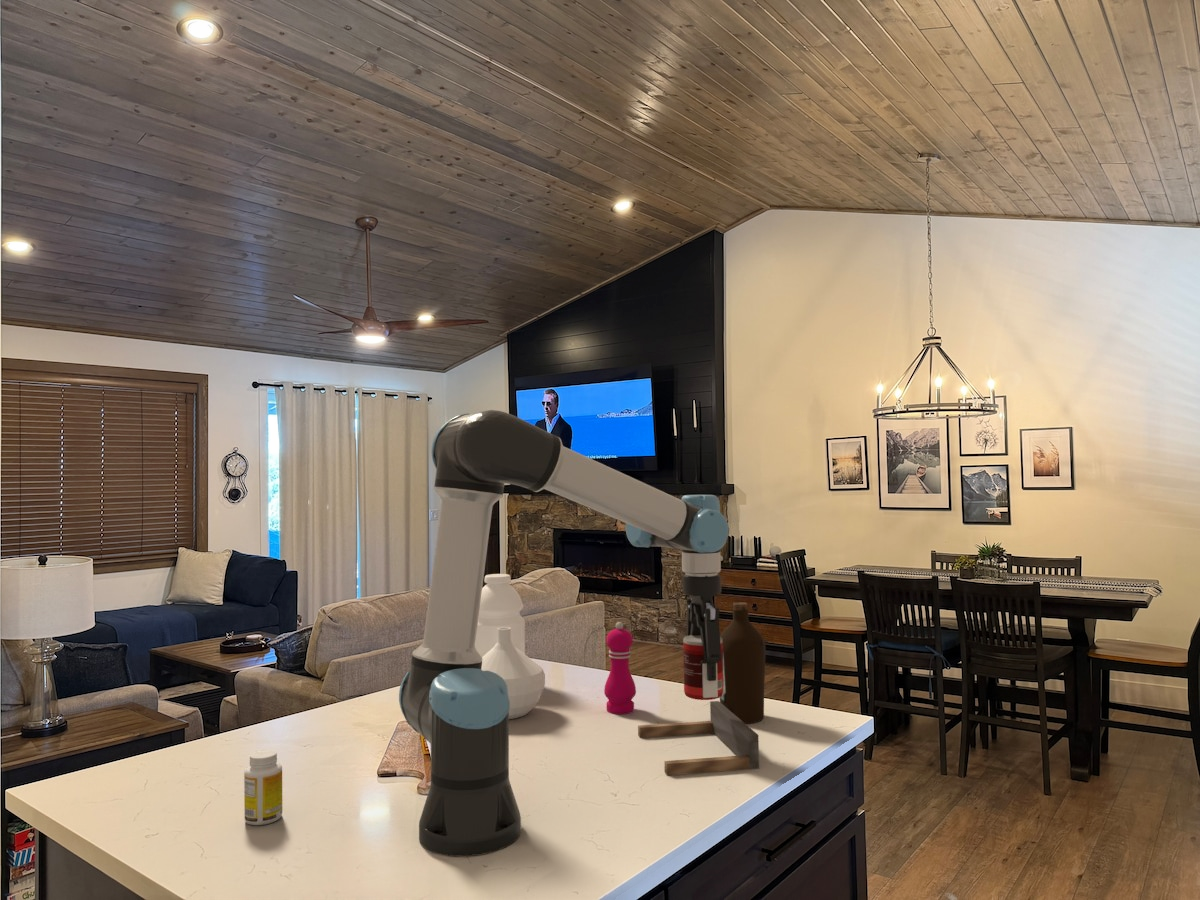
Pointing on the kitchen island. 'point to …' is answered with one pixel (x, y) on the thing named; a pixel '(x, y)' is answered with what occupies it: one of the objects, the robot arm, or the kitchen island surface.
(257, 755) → the supplement bottle
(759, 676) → the olive oil
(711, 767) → the guide lane
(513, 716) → the vase
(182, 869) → the kitchen island surface
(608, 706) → the pepper mill
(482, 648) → the bottle
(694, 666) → the canned food
